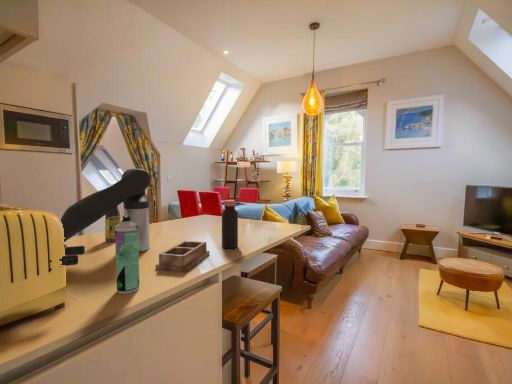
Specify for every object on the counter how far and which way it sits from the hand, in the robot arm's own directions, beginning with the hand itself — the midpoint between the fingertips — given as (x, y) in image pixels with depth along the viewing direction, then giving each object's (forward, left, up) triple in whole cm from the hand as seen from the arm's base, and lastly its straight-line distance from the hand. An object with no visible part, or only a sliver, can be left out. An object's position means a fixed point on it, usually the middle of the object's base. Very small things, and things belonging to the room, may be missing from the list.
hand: (81, 254), depth 66 cm
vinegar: (+22, +52, -11) cm, 58 cm away
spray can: (+8, +6, -11) cm, 15 cm away
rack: (+12, +31, -11) cm, 35 cm away
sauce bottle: (-34, +50, -11) cm, 61 cm away
